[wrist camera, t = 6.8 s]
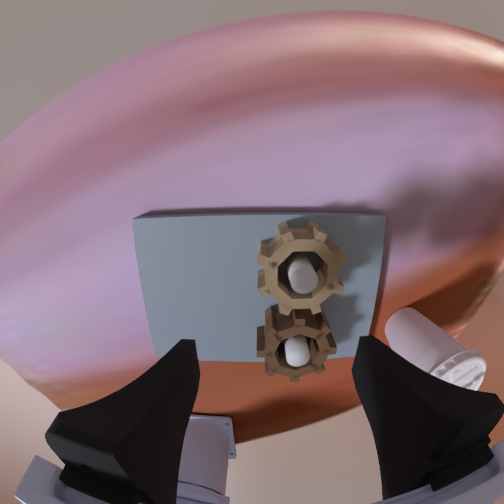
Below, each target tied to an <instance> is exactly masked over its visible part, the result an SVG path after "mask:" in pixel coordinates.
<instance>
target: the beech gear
mask: <svg viewBox="0 0 504 504" xmlns="http://www.w3.org/2000/svg"><path fill="white" fill-rule="evenodd" d="M277 225H278V228H279V231H280V232H279V233H278V234H277V235H276V236H275V237H274V238H273V239H272V240H271V241H270V242H269V243H265V242H262V241H260V243H259V246H258V248H257V264H258V265H261V266H264V268H263V269H260V270H258V285H257V289H258V291H259V293H260V295H261V297H263V296H266V295H269V294H270V295H271V296H272V297H273V298H274V299H275V300H277V301H278V306H279V313H281V314H284V315H287V316H288V315H289V313H290V311H291V310H292V309H311V311H312V314H313V315H314V314H316V313H319V312H321V308H320V304H321V303H322V302H323V301H324V300H326V299H327V298H328V297H329V296H330V295H331V294H332V293H333V292H334V293H337V294H339V295H341V293H342V291H343V289H344V287H345V286H344V285H343V283H342V282H341V280H340V279H339V268H340V265H343V264H345V263H347V259H346V256H345V253H344V252H343V251H342V250H341V249H340V248H339V247H338V246H337V245H336V244H335V243H334V242H333V241H332V240H331V241H329V242H326V243H325V240H326V238H327V234H326V233H325V232H324V231H323V230H322V229H321V228H320V227H319V226H318V225H317V224H315V223H313V222H311V221H309V222H308V224H307V227H306V228H289V227H288V225H287V223H286V221H284V222H282V223H279V224H277ZM297 251H315V252H316V253H317V254H318V263H317V268H316V269H315V272H316V274H317V277H318V283H317V286H316V287H315V289H314V290H313V291H311V292H309V293H306V294H301V293H297V292H296V291H294V290H293V288H292V287H291V283H290V280H287V279H286V278H285V277H284V276H283V275H281V274H280V273H279V272H278V266H279V265H280V264H281V263H282V262H283V261H284V260H285V259H286V258H287V257H288V256H289V255H290V254H291V253H292V252H297Z"/></svg>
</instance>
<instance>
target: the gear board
mask: <svg viewBox="0 0 504 504" xmlns="http://www.w3.org/2000/svg"><path fill="white" fill-rule="evenodd" d="M284 221H286V223H287V225H288V227H289V228H306V227H307V224H308V222H309V221H311V222H313V223H315V224H317V225H318V226H319V227H320V228H321V229H322V230H323V231H324V232H325V233H326V234H327V238H326V240H325V243H326V242H329V241H331V240H332V241H333V242H334V243H335V244H336V245H337V246H338V247H339V248H340V249H341V250H342V251H343V252H344V253H345V256H346V259H347V263H345V264H343V265H340V268H339V279H340V280H341V282H342V283H343V285H344V286H345V287H344V289H343V291H342V293H341V295H339V294H337V293H334V292H333V293H332V294H331V295H330V296H329V297H328V298H327V299H326V300H324V301H323V302H322V303H321V304H320V307H321V308H322V309H323V311H324V314H325V316H326V318H327V321H328V323H329V326H330V328H331V333H332V336H333V338H334V341H335V343H336V346H337V351H336V354H331V355H328V357H327V358H326V359H331V358H342V357H352V356H355V355H356V351H357V347H358V342H359V338H360V336H369V331H370V327H371V322H372V317H373V312H374V307H375V301H376V296H377V290H378V284H379V278H380V271H381V264H382V256H383V248H384V239H385V228H386V216H384V215H382V214H376V213H342V212H225V213H191V214H166V215H146V216H137V217H135V218H133V219H132V223H133V232H134V240H135V248H136V255H137V262H138V269H139V275H140V281H141V287H142V293H143V298H144V303H145V308H146V313H147V318H148V323H149V327H150V332H151V336H152V340H153V345H154V349H155V353H156V357H163V356H164V355H165V354H166V353H167V352H168V351H169V350H170V349H171V348H172V347H174V346H175V345H176V344H177V343H178V342H179V341H180V340H181V339H194V340H195V342H196V349H197V356H198V360H206V361H237V362H265V358H264V357H261V358H257V327H264V325H265V310H266V309H267V308H268V307H270V306H272V307H273V308H274V309H275V310H276V309H279V306H278V301H277V300H275V299H274V298H273V297H272V296H271V295H270V294H269V295H266V296H263V297H261V295H260V293H259V291H258V289H257V285H258V270H260V269H263V268H264V266H261V265H258V264H257V248H258V246H259V243H260V241H262V242H265V243H269V242H270V241H271V240H272V239H273V238H274V237H275V236H276V235H277V234H278V233H279V232H280V231H279V228H278V225H277V224H279V223H282V222H284ZM317 263H318V254H317V253H316V252H315V251H297V252H292V253H291V254H290V255H289V256H288V257H287V258H286V259H285V260H284V261H283V262H282V263H281V264H280V265H279V266H278V272H279V273H280V274H281V275H283V276H284V277H285V278H286V279H287V280H290V283H291V287H292V288H293V290H294V291H296V292H297V293H301V294H306V293H309V292H311V291H313V290H314V289H315V287H316V286H317V283H318V277H317V274H316V272H315V269H316V268H317ZM307 339H308V337H307V336H304V335H301V334H298V335H295V336H292V337H289V338H287V339H284V340H281V342H280V343H283V344H284V345H285V352H286V360H287V362H288V364H290V365H291V366H302V365H304V364H306V363H307V362H308V361H309V359H310V353H309V349H308V345H307Z"/></svg>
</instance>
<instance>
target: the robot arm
mask: <svg viewBox="0 0 504 504" xmlns="http://www.w3.org/2000/svg"><path fill="white" fill-rule="evenodd" d="M352 375H353V379H354V383H355V387H356V390H357V393H358V395H359V398H360V400H361V403H362V405H363V408H364V410H365V413H366V415H367V418H368V420H369V423H370V425H371V429H372V432H373V436H374V440H375V444H376V449H377V454H378V459H379V465H380V473H381V481H382V495H383V501H379V502H375V503H372V504H492V503H493V502H495V501H496V500H498V499H499V498H500V497H501V496H503V495H504V439H503V440H501V441H500V442H498V443H497V444H496V445H494V446H493V447H492V448H491V449H490V448H489V446H488V444H489V443H490V441H491V440H490V438H489V436H488V435H489V434H490V432H491V431H492V430H493V428H494V427H495V426H496V424H497V423H498V422H499V420H500V419H501V417H502V415H503V413H504V404H503V403H502V401H501V400H500V399H499V397H498V396H497V395H496V394H494V393H487V392H480V391H475V390H471V389H467V388H463V387H460V386H457V385H454V384H452V383H449V382H446V381H444V380H442V379H439V378H437V377H435V376H433V375H431V374H429V373H427V372H425V371H424V370H422V369H420V368H418V367H417V366H415V365H414V364H412V363H410V362H409V361H407V360H406V359H405V358H403V357H402V356H400V355H399V354H397V353H396V352H395V351H393V350H392V349H391V348H389V347H388V346H387V345H385V344H384V343H383V342H381V341H380V340H378V339H377V338H375V337H374V336H372V335H370V336H360V338H359V342H358V347H357V351H356V355H355V359H354V363H353V367H352ZM199 380H200V369H199V363H198V356H197V349H196V342H195V340H194V339H181V340H180V341H179V342H178V343H177V344H176V345H175V346H174V347H172V348H171V349H170V350H169V351H168V352H167V353H166V354H165V355H164V356H163V357H162V358H161V359H160V360H159V361H158V362H157V363H156V364H154V365H153V366H152V367H151V368H150V369H149V370H147V371H146V372H145V373H144V374H142V375H141V376H140V377H138V378H137V379H136V380H134V381H133V382H131V383H130V384H128V385H127V386H125V387H123V388H122V389H120V390H118V391H116V392H114V393H112V394H110V395H108V396H106V397H104V398H102V399H100V400H98V401H95V402H93V403H90V404H87V405H84V406H81V407H78V408H74V409H70V410H67V411H62V412H59V414H58V415H57V416H56V418H55V419H54V421H53V423H52V424H51V426H50V427H49V429H48V430H47V432H46V433H45V438H46V441H47V443H48V445H49V446H50V448H51V449H52V450H53V451H54V452H55V453H56V455H57V456H58V457H59V458H60V459H61V460H62V461H63V463H64V464H65V467H64V469H63V470H62V469H61V468H59V467H58V466H56V465H55V464H53V463H51V462H49V461H47V460H45V459H43V458H41V457H39V456H37V455H36V456H35V457H34V459H33V460H32V462H31V464H30V466H29V467H28V469H27V471H26V473H25V474H24V476H23V478H22V480H21V482H20V483H19V485H18V487H17V489H16V491H15V493H14V497H15V498H17V499H18V500H19V501H20V502H22V503H23V504H229V501H230V497H227V496H225V489H226V479H227V468H228V459H235V458H236V450H235V441H234V433H233V424H232V419H231V418H230V417H222V416H206V415H194V414H191V413H192V409H193V406H194V403H195V399H196V396H197V392H198V386H199Z"/></svg>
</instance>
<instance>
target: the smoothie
mask: <svg viewBox="0 0 504 504" xmlns="http://www.w3.org/2000/svg"><path fill="white" fill-rule="evenodd" d="M385 335H386V337H387V340H388V342H389V344H390V347H391V349H392V350H393V351H395V352H396V353H397V354H399V355H400V356H402V357H403V358H405V359H406V360H407V361H409V362H410V363H412V364H414V365H415V366H417V367H418V368H420V369H422V370H424V371H425V372H427V373H429V374H431V375H433V376H435V377H437V378H439V379H442V380H444V381H446V382H449V383H452V384H454V385H457V386H460V387H463V388H467V389H471V390H475V391H477V390H478V388H479V387H480V385H481V383H482V381H483V379H484V377H485V374H486V369H487V364H486V361H485V360H484V358H483V357H482V356H481V355H480V353H479V352H478V351H476V350H471V349H469V350H468V349H467V348H466V347H465V346H463V345H462V344H461V343H460V342H458V341H457V340H456V339H454V338H453V337H452V336H450V335H449V334H448V333H446V332H445V331H444V330H442V329H441V328H440V327H438V326H437V325H436V324H434V323H433V322H432V321H430V320H429V319H428V318H426V317H425V316H423V315H422V314H421V313H419V312H418V311H417V310H415V309H414V308H411V307H405V308H402V309H400V310H398V311H396V312H395V313H394V314H393V315H392V316H391V317H390V318H389V320H388V321H387V323H386V326H385Z"/></svg>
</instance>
